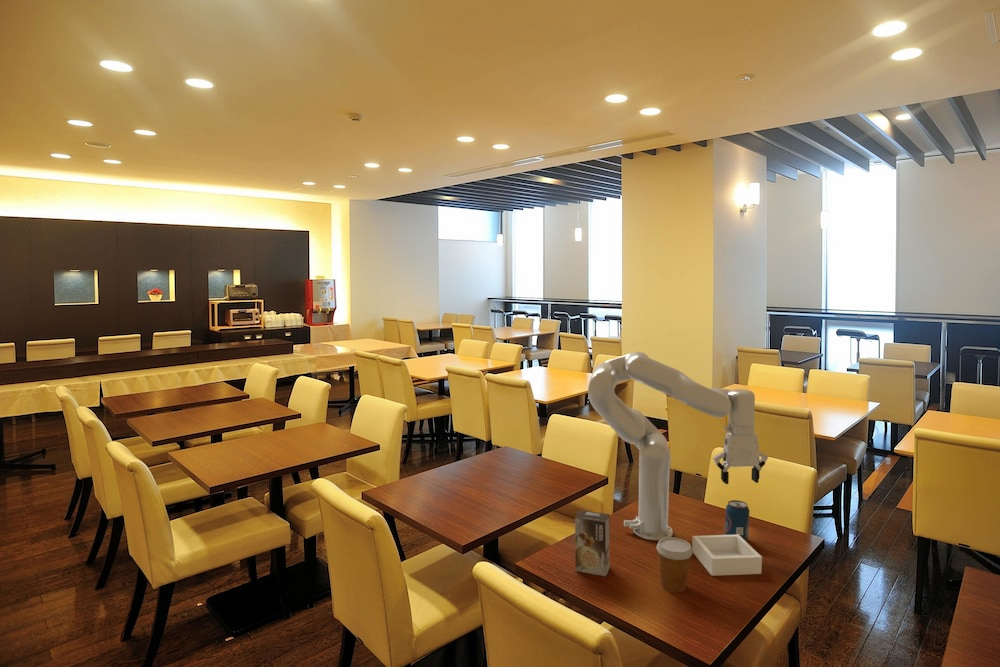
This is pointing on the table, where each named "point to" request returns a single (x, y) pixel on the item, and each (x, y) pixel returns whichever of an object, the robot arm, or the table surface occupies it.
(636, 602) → the table surface
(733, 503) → the soda can
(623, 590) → the table surface
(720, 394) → the robot arm
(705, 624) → the table surface
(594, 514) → the coffee box
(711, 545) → the walled box
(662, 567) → the disposable coffee cup
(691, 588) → the table surface
